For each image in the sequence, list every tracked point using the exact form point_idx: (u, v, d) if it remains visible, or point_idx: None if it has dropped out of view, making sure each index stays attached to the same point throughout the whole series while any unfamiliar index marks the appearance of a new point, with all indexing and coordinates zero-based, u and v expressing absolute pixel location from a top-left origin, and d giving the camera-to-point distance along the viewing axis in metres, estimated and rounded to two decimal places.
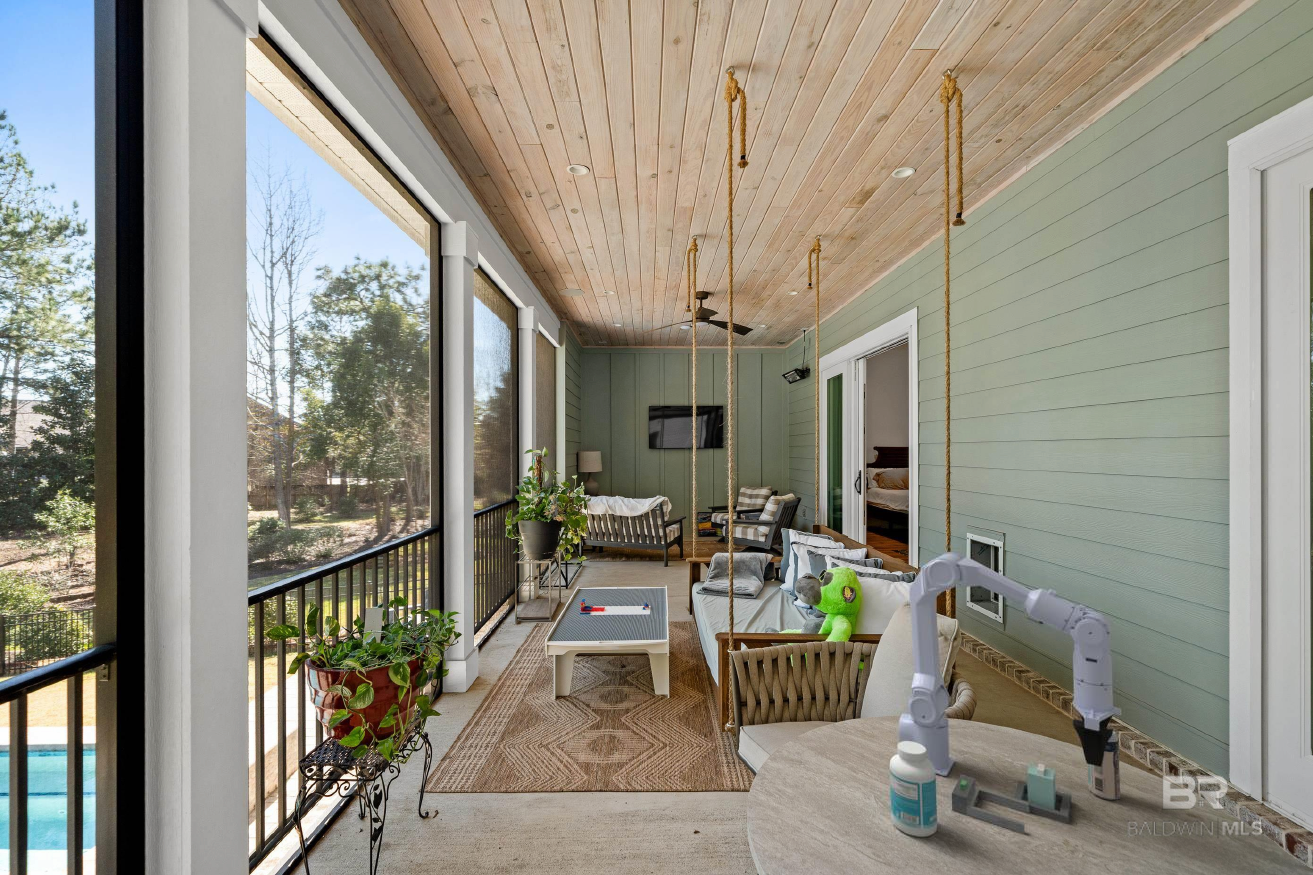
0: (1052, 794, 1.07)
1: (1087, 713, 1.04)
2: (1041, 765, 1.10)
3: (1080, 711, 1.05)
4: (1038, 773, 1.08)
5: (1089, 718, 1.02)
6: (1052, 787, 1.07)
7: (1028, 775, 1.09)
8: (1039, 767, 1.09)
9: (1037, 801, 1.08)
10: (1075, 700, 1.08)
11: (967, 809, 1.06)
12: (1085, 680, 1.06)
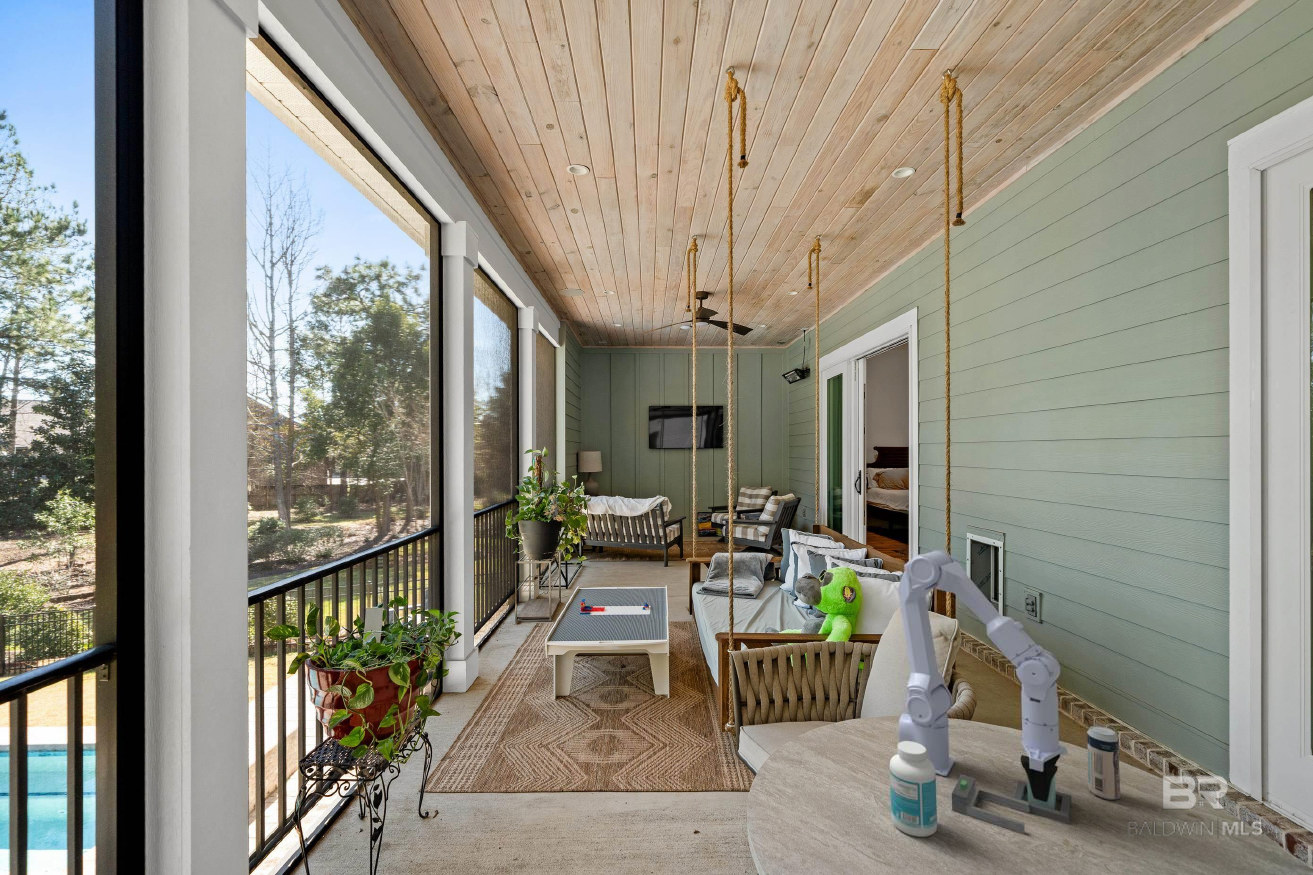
0: (1052, 794, 1.07)
1: (1033, 753, 1.06)
2: None
3: (1026, 751, 1.07)
4: None
5: (1034, 759, 1.04)
6: (1052, 787, 1.07)
7: None
8: None
9: (1037, 801, 1.08)
10: (1023, 739, 1.10)
11: (967, 809, 1.06)
12: (1029, 719, 1.09)
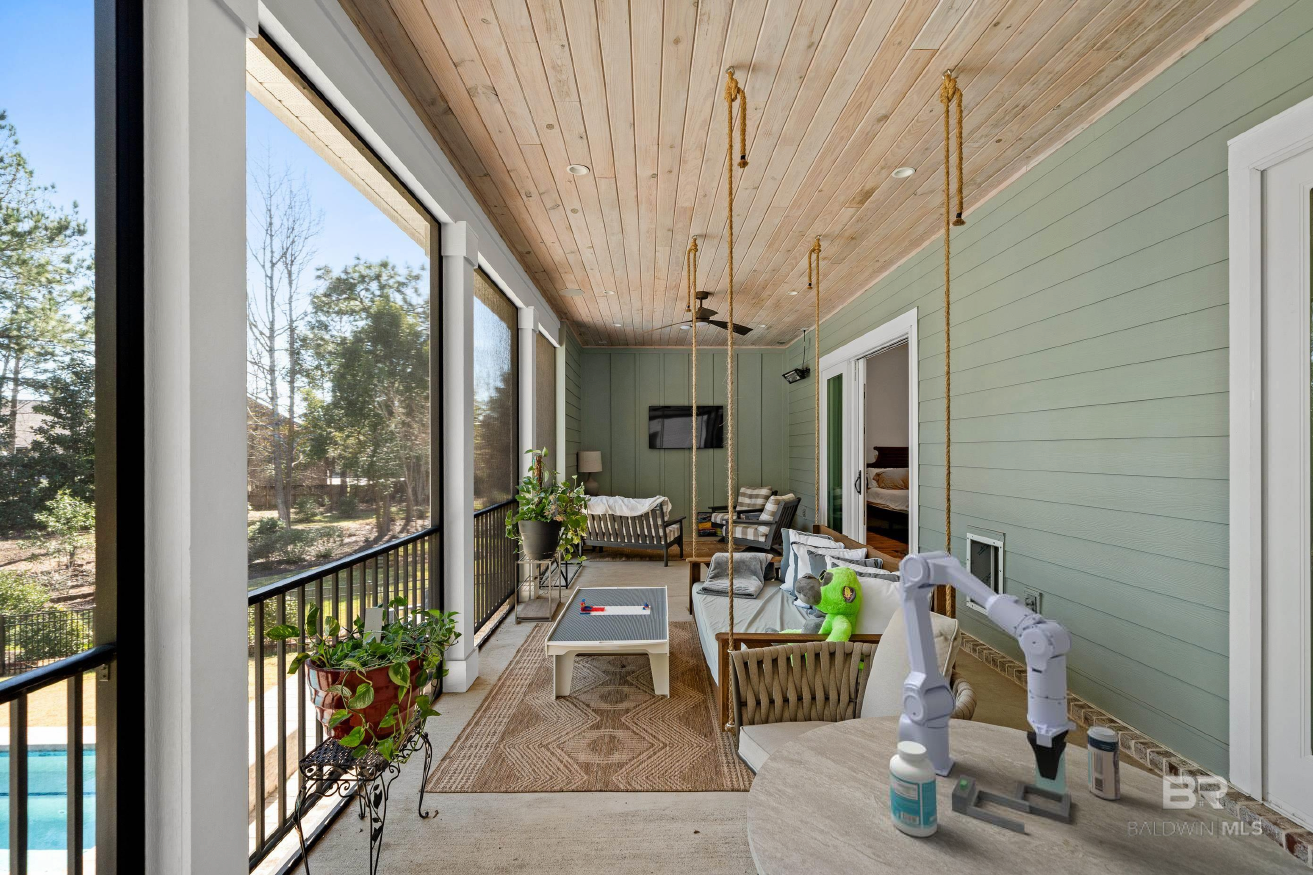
0: (1062, 773, 1.00)
1: (1040, 728, 1.00)
2: None
3: (1033, 726, 1.01)
4: None
5: (1041, 734, 0.97)
6: (1062, 766, 1.00)
7: None
8: None
9: (1046, 781, 1.01)
10: (1029, 714, 1.04)
11: (967, 809, 1.06)
12: (1032, 691, 1.03)
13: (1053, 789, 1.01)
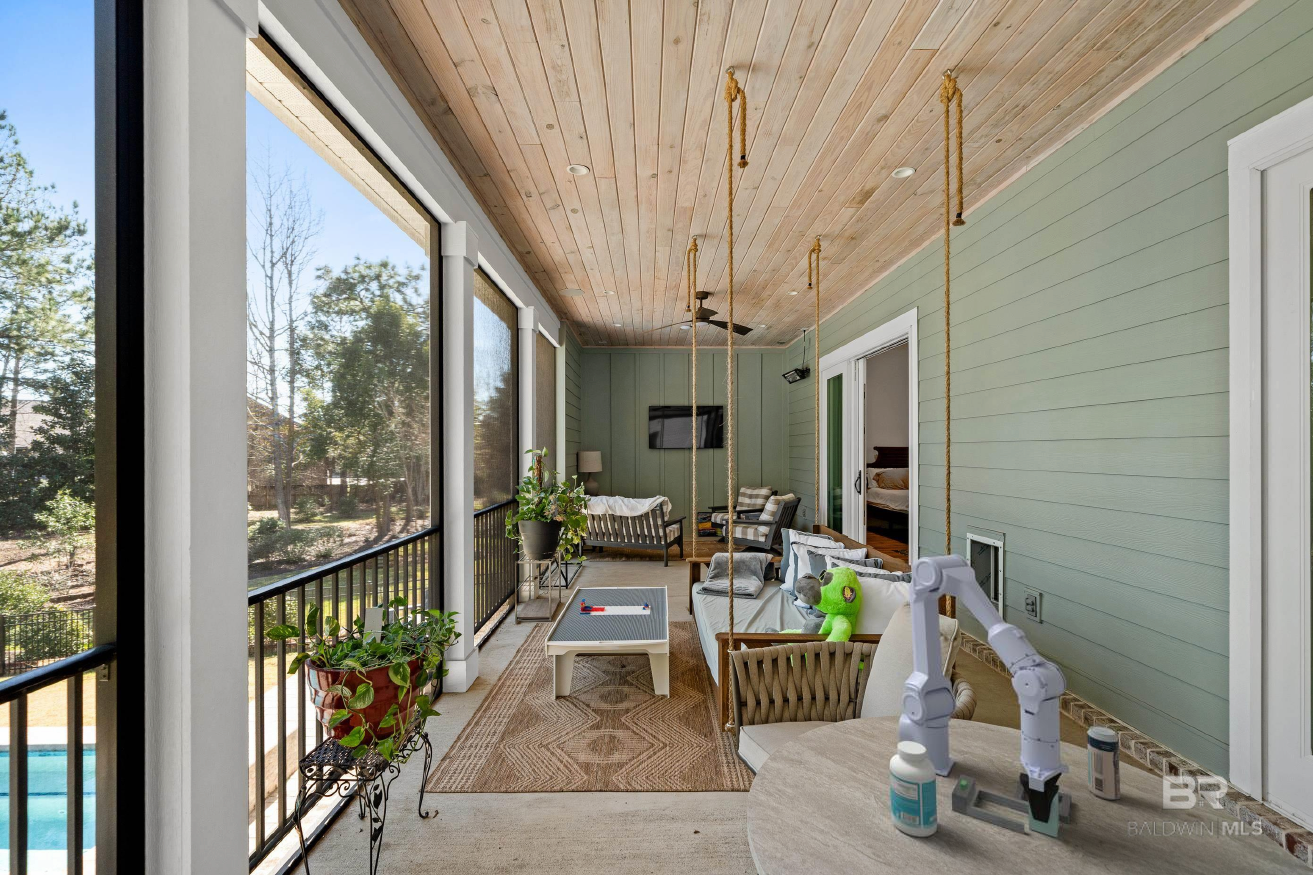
0: (1055, 817, 1.00)
1: (1033, 771, 1.00)
2: None
3: (1026, 769, 1.01)
4: None
5: (1033, 778, 0.97)
6: (1055, 809, 1.00)
7: None
8: None
9: (1039, 824, 1.01)
10: (1022, 755, 1.04)
11: (967, 809, 1.06)
12: (1024, 732, 1.03)
13: (1046, 832, 1.01)
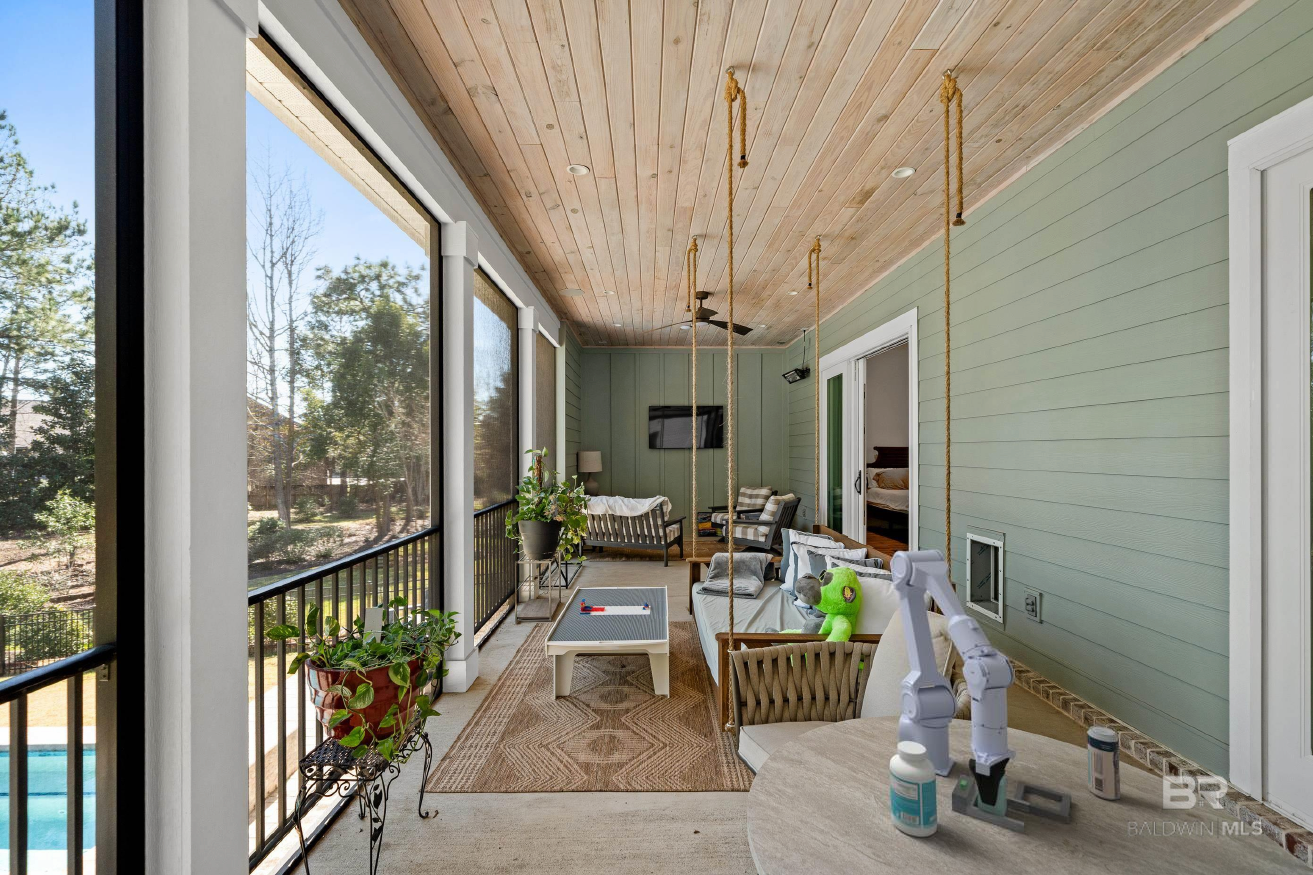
0: (1001, 800, 1.05)
1: (980, 757, 1.04)
2: None
3: (974, 754, 1.05)
4: None
5: (980, 763, 1.02)
6: (1002, 793, 1.05)
7: None
8: None
9: (987, 807, 1.06)
10: (972, 742, 1.08)
11: (967, 809, 1.06)
12: (972, 718, 1.08)
13: None
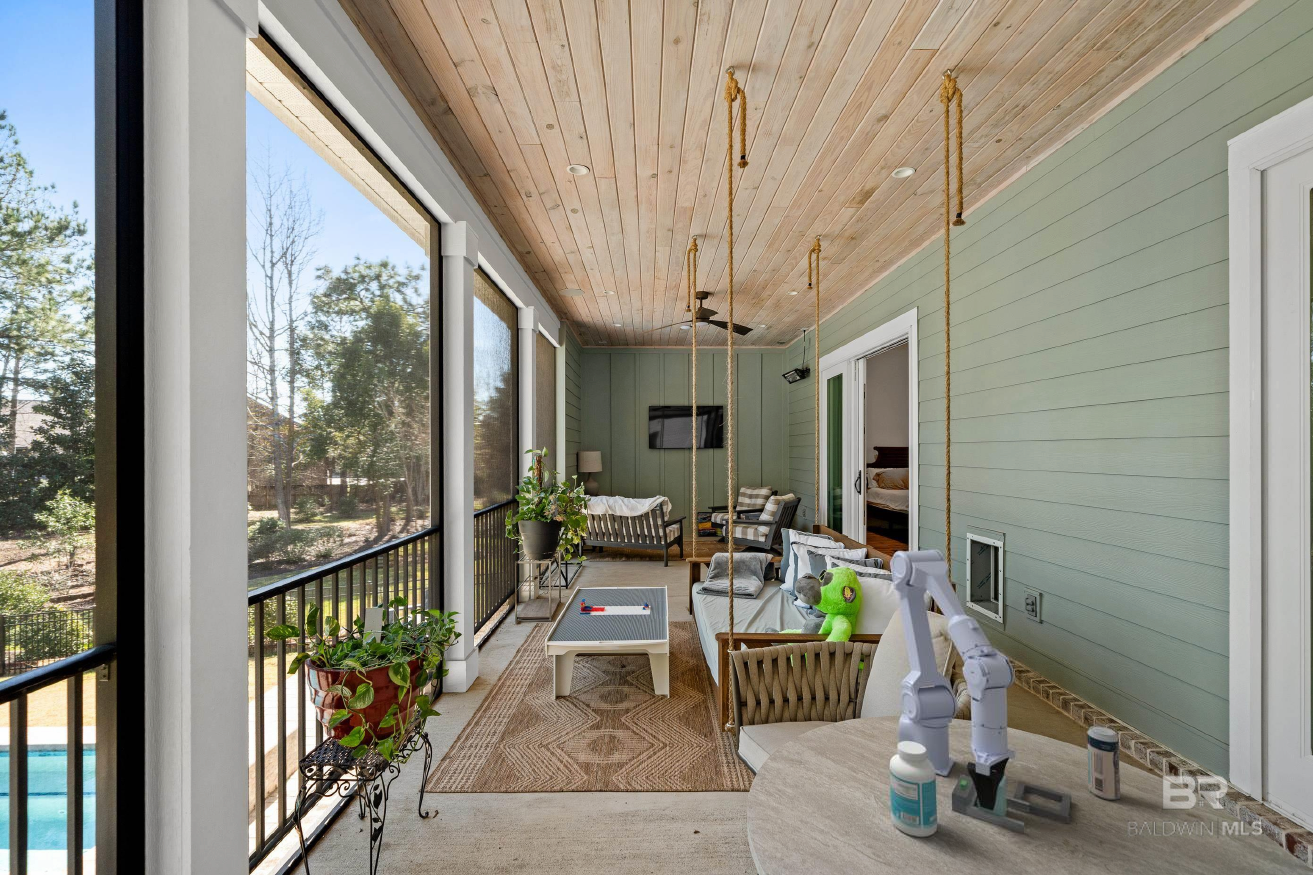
0: (1001, 801, 1.05)
1: (980, 757, 1.04)
2: None
3: (974, 754, 1.05)
4: None
5: (980, 762, 1.02)
6: (1001, 794, 1.05)
7: None
8: None
9: None
10: (972, 742, 1.08)
11: (967, 809, 1.06)
12: (972, 718, 1.08)
13: None
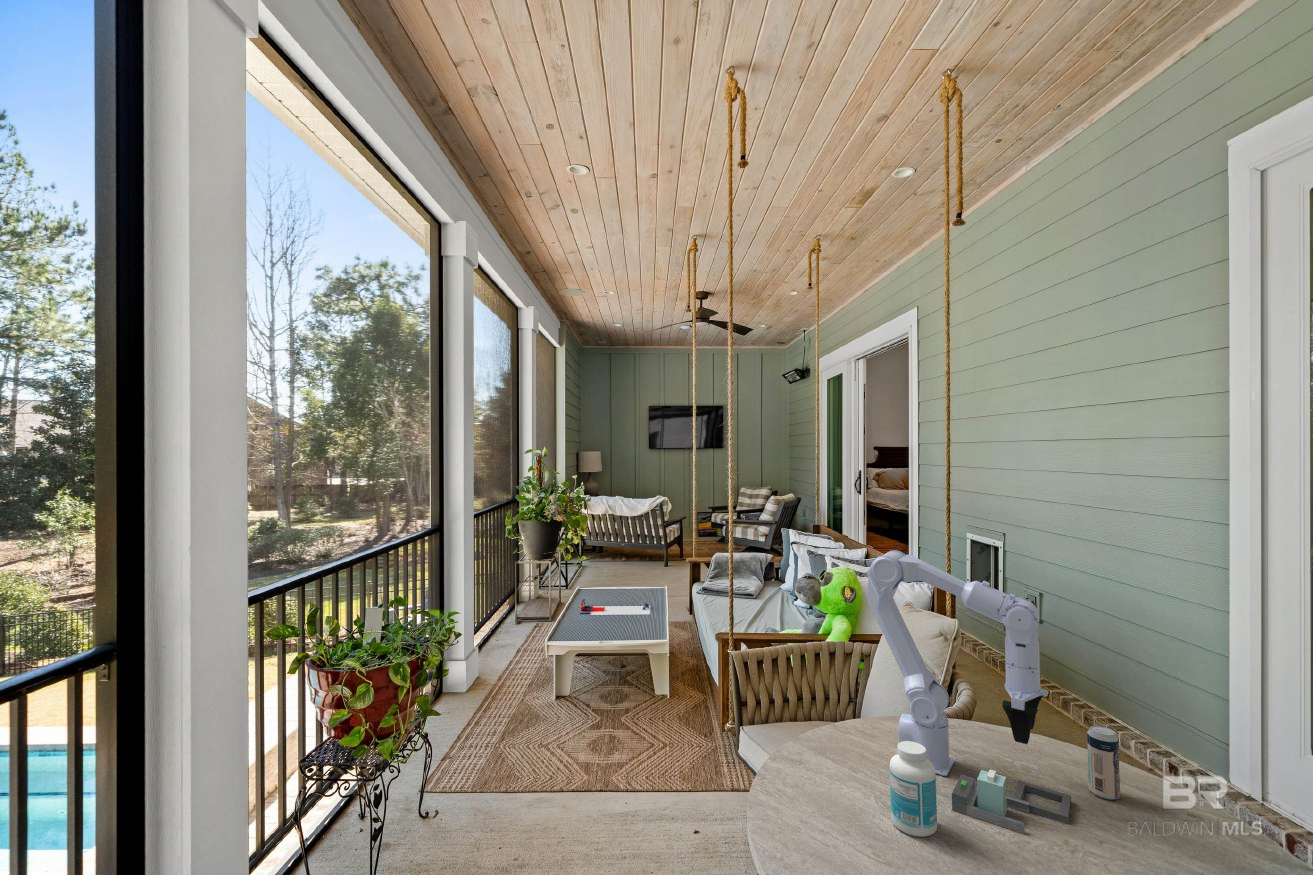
0: (1001, 801, 1.05)
1: (1015, 694, 1.11)
2: (992, 772, 1.08)
3: (1009, 692, 1.12)
4: (988, 779, 1.06)
5: (1015, 698, 1.09)
6: (1001, 794, 1.05)
7: (978, 781, 1.07)
8: (989, 773, 1.07)
9: (987, 808, 1.06)
10: (1006, 683, 1.15)
11: (967, 809, 1.06)
12: (1015, 664, 1.13)
13: None
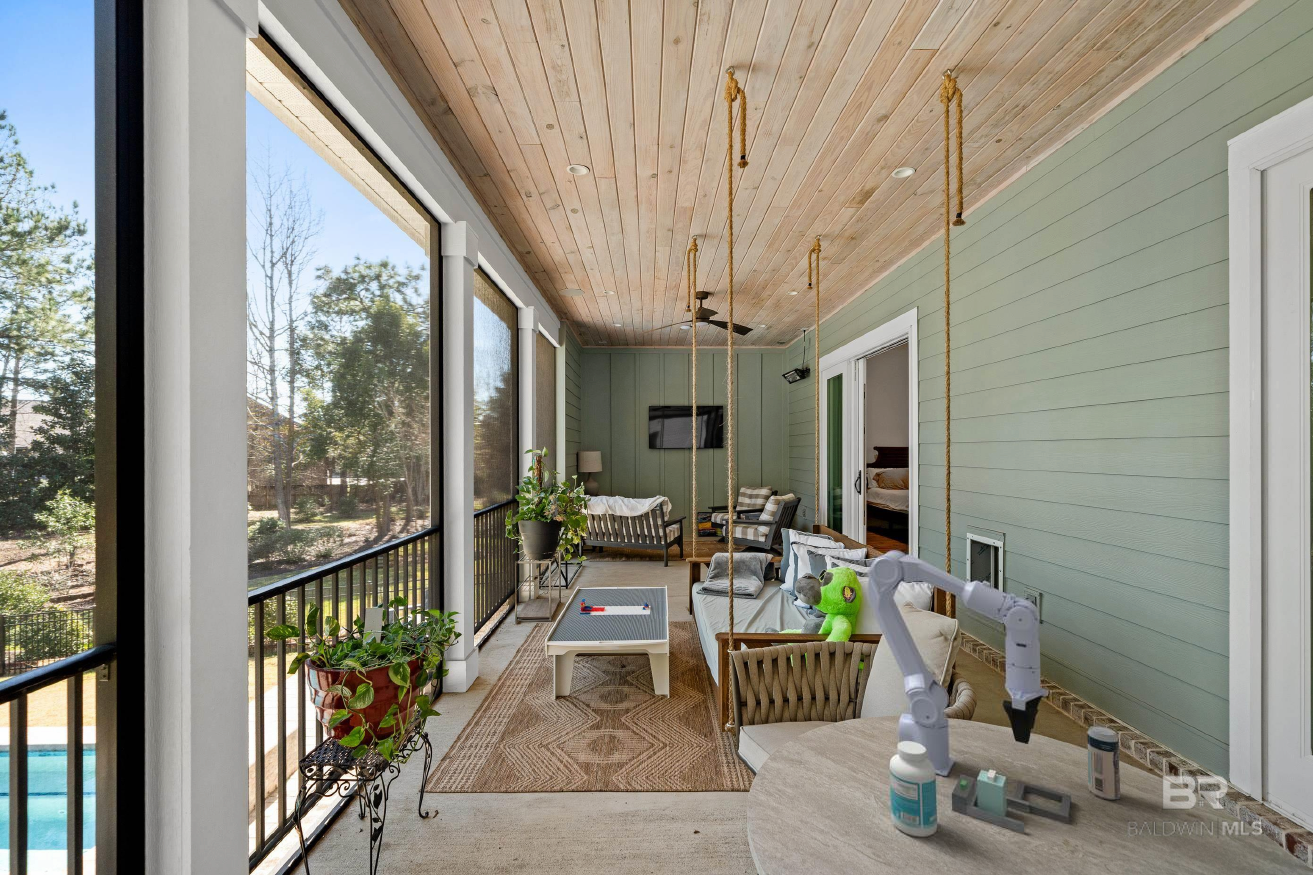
0: (1001, 801, 1.05)
1: (1015, 694, 1.12)
2: (992, 772, 1.08)
3: (1009, 692, 1.13)
4: (988, 779, 1.06)
5: (1016, 698, 1.09)
6: (1001, 794, 1.05)
7: (978, 781, 1.07)
8: (989, 773, 1.07)
9: (987, 808, 1.06)
10: (1007, 683, 1.16)
11: (967, 809, 1.06)
12: (1016, 664, 1.13)
13: None
